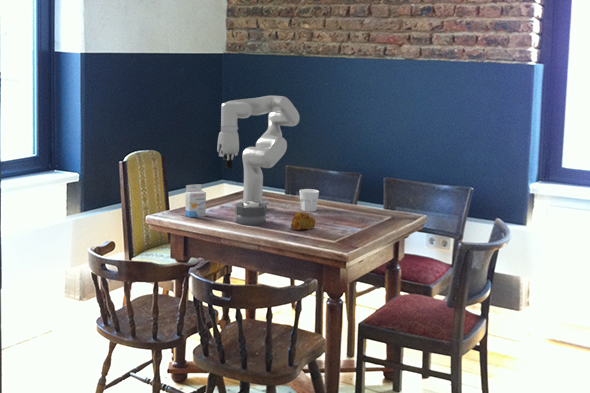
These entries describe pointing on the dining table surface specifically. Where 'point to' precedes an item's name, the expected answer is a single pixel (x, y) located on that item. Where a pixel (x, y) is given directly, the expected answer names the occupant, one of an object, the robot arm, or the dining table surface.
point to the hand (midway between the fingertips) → (228, 168)
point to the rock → (302, 221)
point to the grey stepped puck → (250, 214)
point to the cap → (251, 203)
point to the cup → (308, 199)
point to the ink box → (195, 201)
